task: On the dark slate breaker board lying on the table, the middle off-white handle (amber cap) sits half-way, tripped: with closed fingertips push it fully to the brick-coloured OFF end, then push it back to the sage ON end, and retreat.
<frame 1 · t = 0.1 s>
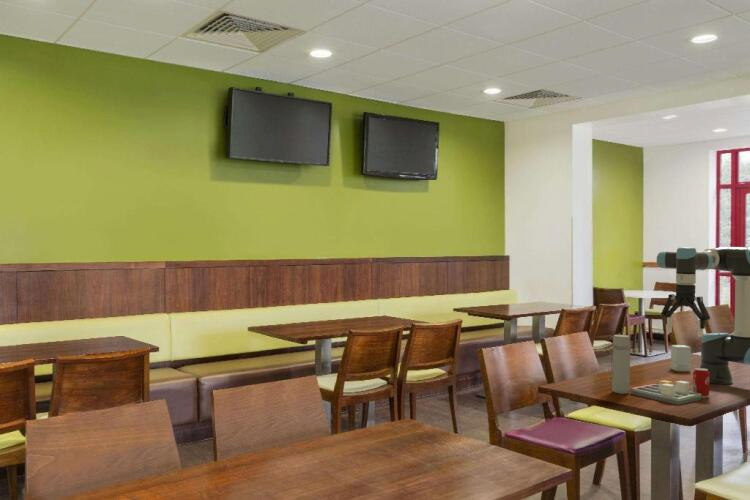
hand: (684, 334, 274), 28 cm above the table, fingers open, 13 cm apart
water bottle: (618, 392, 287), on the table
beverage can: (700, 397, 281), on the table
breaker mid: (665, 387, 280), point 4 cm above the table, slide at 0.0 cm
breaker 2: (682, 387, 279), point 4 cm above the table, slide at 4.5 cm
breaker 1: (668, 390, 273), point 4 cm above the table, slide at 4.5 cm
supplement box: (680, 370, 339), on the table
panel: (665, 396, 280), on the table
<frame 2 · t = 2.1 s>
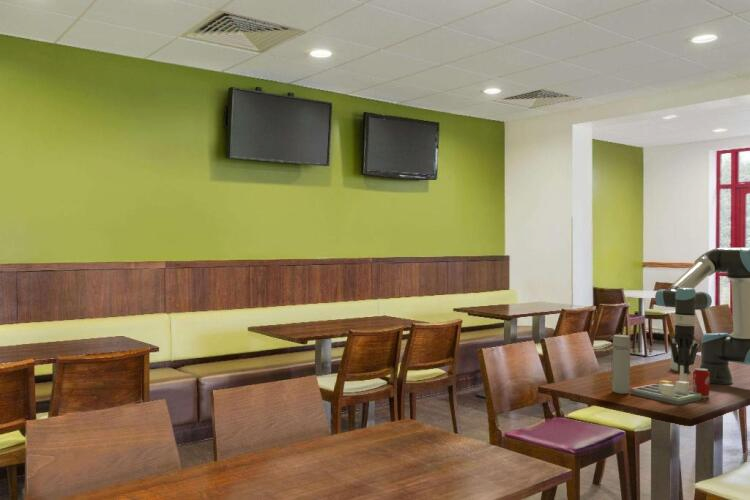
hand: (683, 380, 273), 8 cm above the table, fingers closed
nothing on the table moved.
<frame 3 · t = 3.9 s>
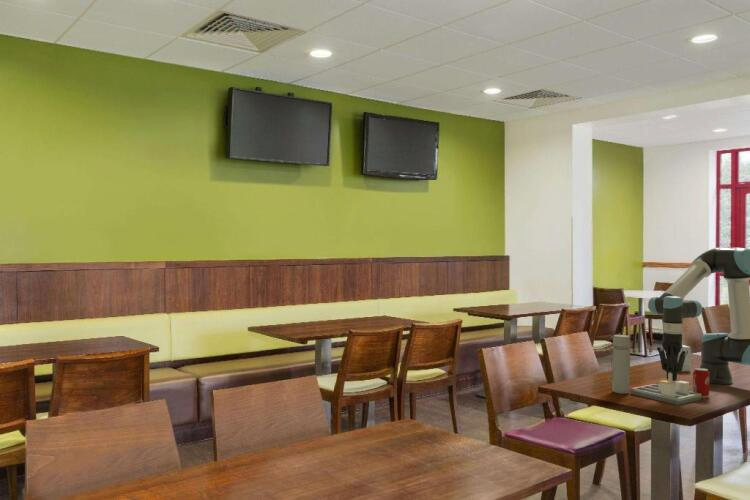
hand: (671, 387, 277), 4 cm above the table, fingers closed
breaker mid: (665, 387, 280), point 4 cm above the table, slide at -0.1 cm, touching gripper
everything else where it was.
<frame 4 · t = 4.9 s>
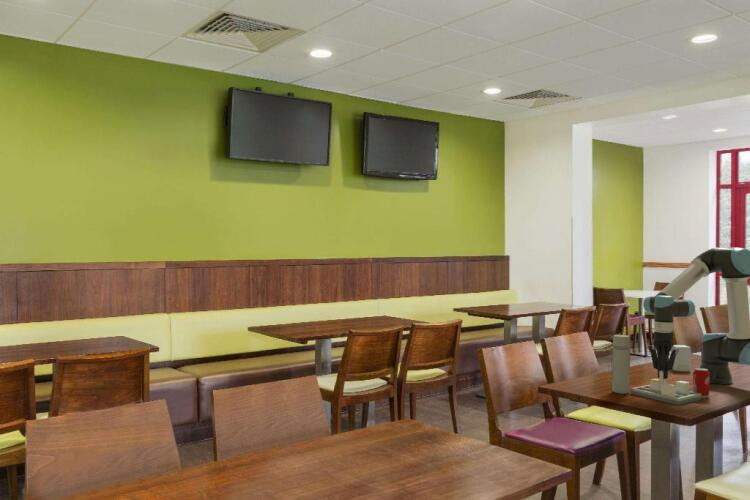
hand: (662, 385, 281), 4 cm above the table, fingers closed
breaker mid: (656, 385, 283), point 4 cm above the table, slide at -4.2 cm, touching gripper
everything else where it was.
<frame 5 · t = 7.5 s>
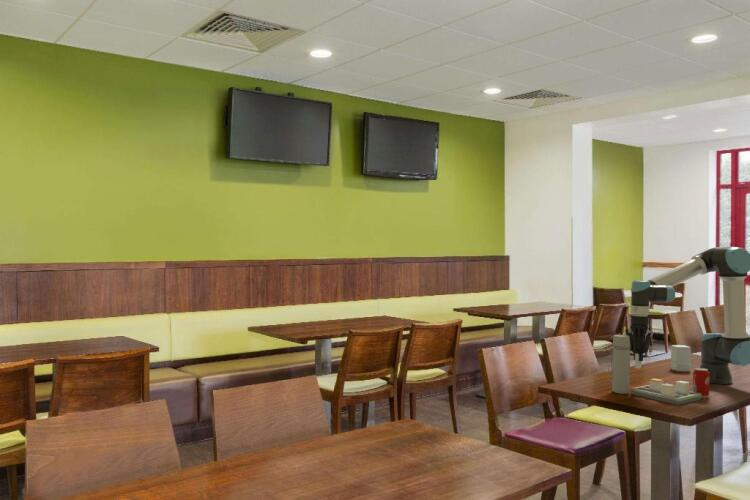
hand: (638, 367, 290), 10 cm above the table, fingers closed
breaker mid: (656, 385, 283), point 4 cm above the table, slide at -4.3 cm
everything else where it was.
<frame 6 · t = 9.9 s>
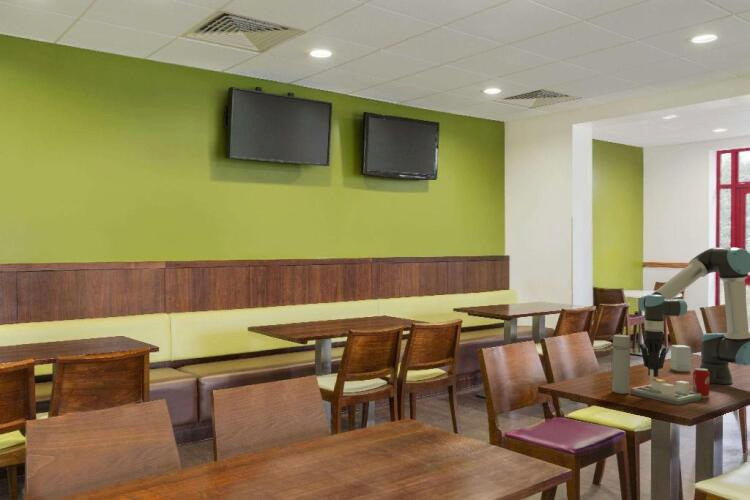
hand: (653, 383, 284), 4 cm above the table, fingers closed
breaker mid: (658, 385, 282), point 4 cm above the table, slide at -3.2 cm, touching gripper
everything else where it was.
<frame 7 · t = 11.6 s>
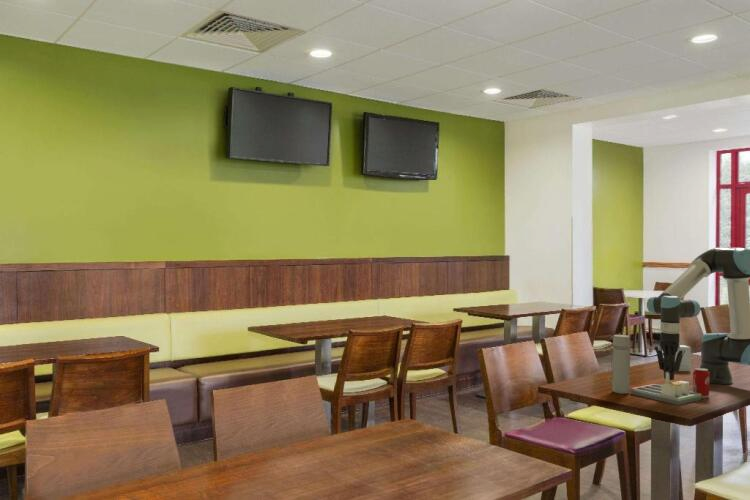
hand: (668, 387, 278), 4 cm above the table, fingers closed
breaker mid: (674, 389, 276), point 4 cm above the table, slide at 4.2 cm, touching gripper
everything else where it was.
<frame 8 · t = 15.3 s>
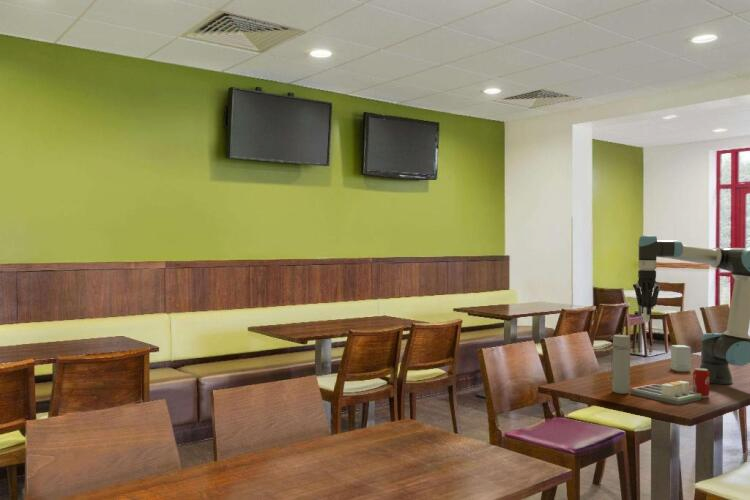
hand: (646, 321, 294), 30 cm above the table, fingers closed
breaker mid: (675, 389, 276), point 4 cm above the table, slide at 4.3 cm
everything else where it was.
at the end: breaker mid slide at 4.3 cm; breaker 2 slide at 4.5 cm; breaker 1 slide at 4.5 cm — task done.
